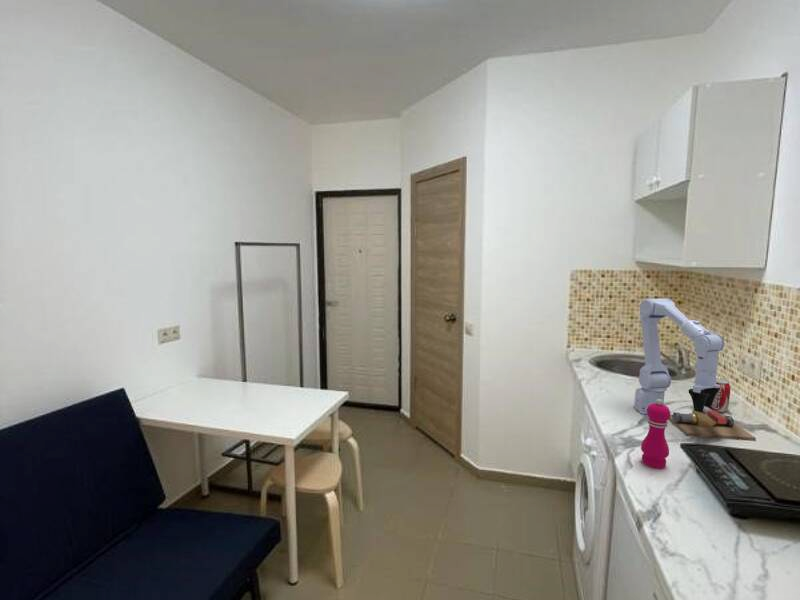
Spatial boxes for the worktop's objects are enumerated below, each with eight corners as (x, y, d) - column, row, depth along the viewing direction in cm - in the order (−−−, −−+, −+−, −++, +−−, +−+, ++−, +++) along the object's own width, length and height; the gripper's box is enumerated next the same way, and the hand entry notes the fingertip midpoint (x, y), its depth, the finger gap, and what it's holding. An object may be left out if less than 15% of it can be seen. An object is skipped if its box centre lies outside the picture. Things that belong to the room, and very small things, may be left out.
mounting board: (686, 435, 148) (687, 432, 147) (665, 416, 163) (666, 414, 163) (755, 440, 144) (755, 437, 144) (727, 421, 160) (727, 418, 160)
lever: (697, 409, 156) (698, 403, 155) (705, 409, 155) (706, 404, 155) (717, 423, 143) (718, 418, 143) (726, 424, 143) (726, 418, 142)
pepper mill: (642, 454, 134) (648, 392, 131) (669, 462, 129) (676, 398, 127) (637, 464, 128) (643, 399, 126) (665, 472, 124) (672, 405, 121)
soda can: (731, 414, 166) (735, 384, 165) (711, 412, 168) (714, 382, 166) (722, 407, 173) (725, 378, 171) (702, 405, 174) (705, 377, 173)
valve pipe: (677, 425, 154) (678, 412, 153) (671, 420, 159) (672, 407, 158) (734, 429, 151) (735, 416, 150) (726, 423, 156) (727, 410, 155)
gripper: (712, 376, 137) (708, 417, 139) (728, 369, 146) (724, 407, 147) (687, 371, 143) (683, 411, 144) (704, 364, 151) (700, 401, 153)
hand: (702, 409), depth 146 cm, fingers open, 7 cm apart
